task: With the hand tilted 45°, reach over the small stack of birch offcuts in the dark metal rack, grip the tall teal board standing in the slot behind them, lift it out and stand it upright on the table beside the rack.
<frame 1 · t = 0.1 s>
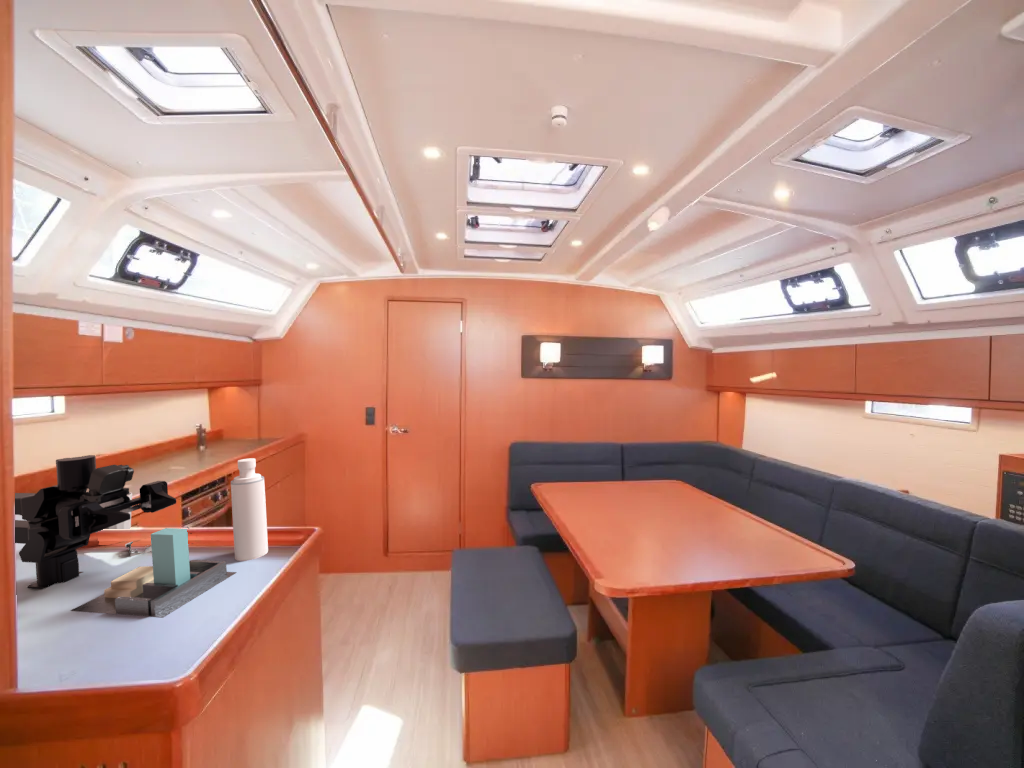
hand: (153, 508, 83), 17 cm above the counter, tool horizontal, fingers open, 9 cm apart
white bottle: (252, 558, 97), on the counter
upper offcut: (138, 580, 83), point 2 cm above the counter, touching lower offcut
lower offcut: (136, 588, 82), point 1 cm above the counter, touching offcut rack, upper offcut
teal board: (172, 590, 81), point 1 cm above the counter, touching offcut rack
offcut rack: (160, 593, 82), on the counter
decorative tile: (161, 548, 105), on the counter
cup: (114, 541, 109), on the counter
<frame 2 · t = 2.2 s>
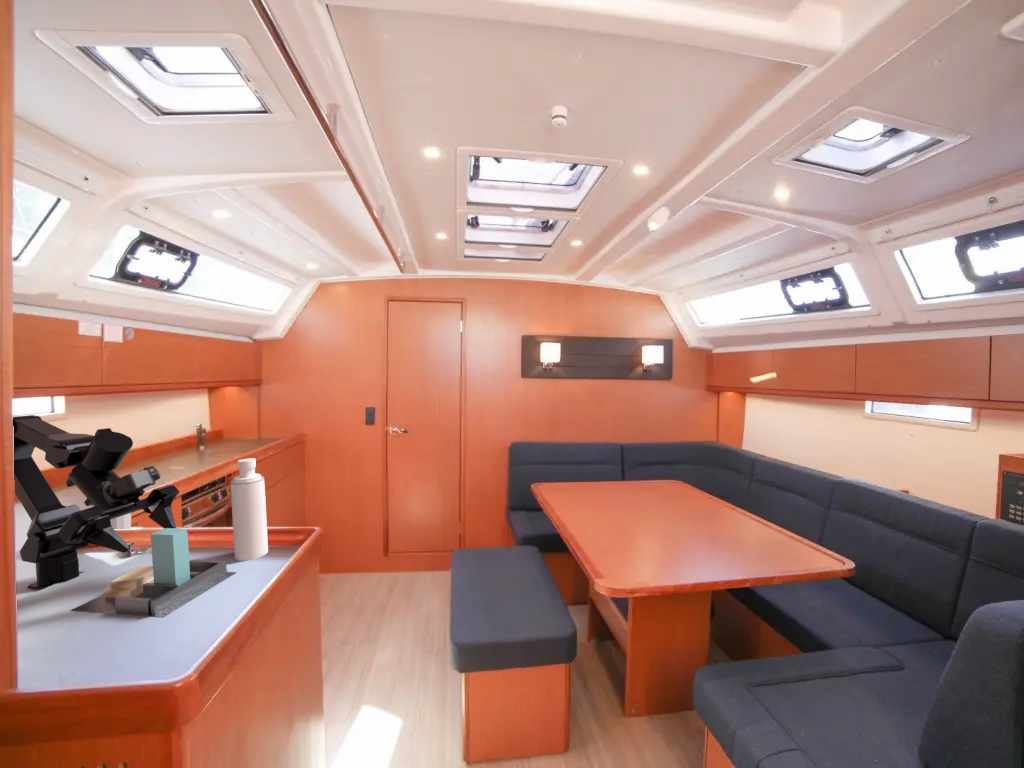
hand: (152, 540, 81), 11 cm above the counter, tool tilted 45°, fingers open, 9 cm apart
nothing on the counter moved.
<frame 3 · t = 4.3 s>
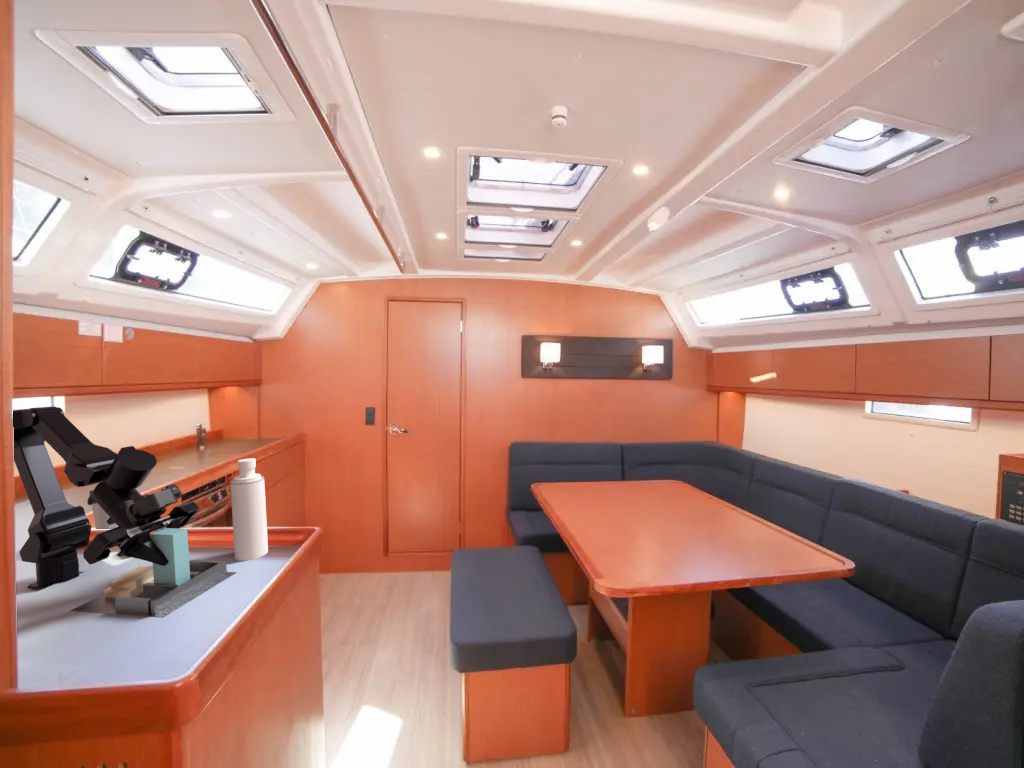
hand: (174, 560, 81), 7 cm above the counter, tool tilted 45°, fingers closed on teal board, 3 cm apart
teal board: (172, 590, 81), point 1 cm above the counter, touching gripper, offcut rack
everything else where it was.
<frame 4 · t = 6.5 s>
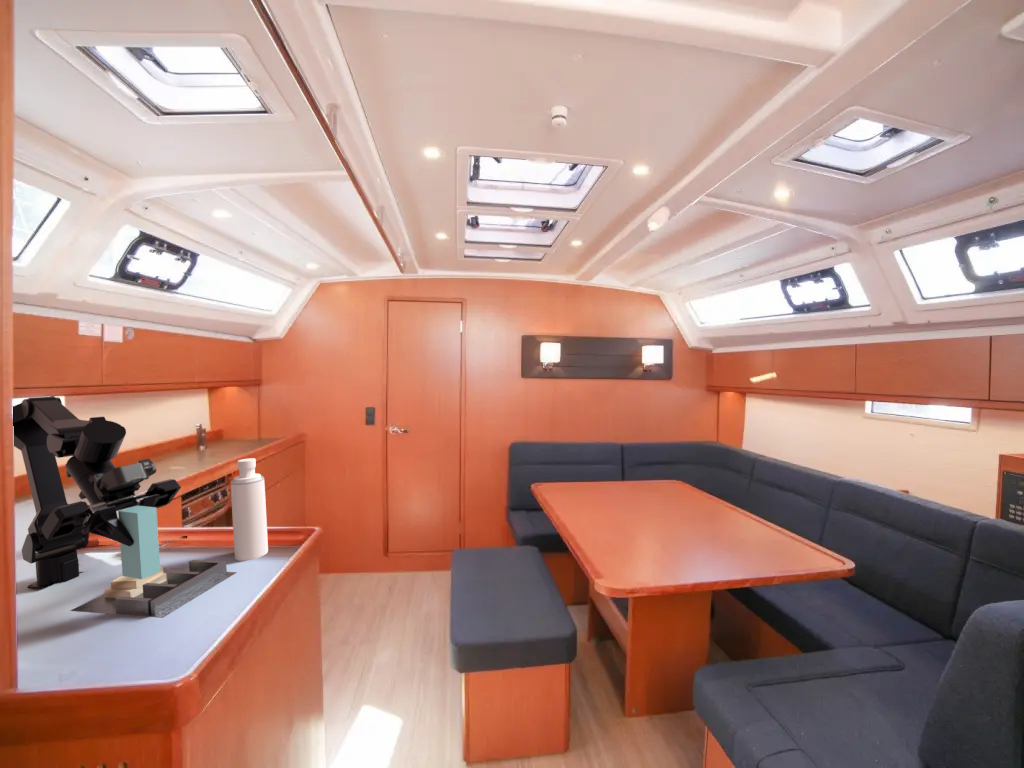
hand: (142, 540, 74), 14 cm above the counter, tool tilted 45°, fingers closed on teal board, 3 cm apart
teal board: (141, 573, 75), point 7 cm above the counter, touching gripper
everything else where it was.
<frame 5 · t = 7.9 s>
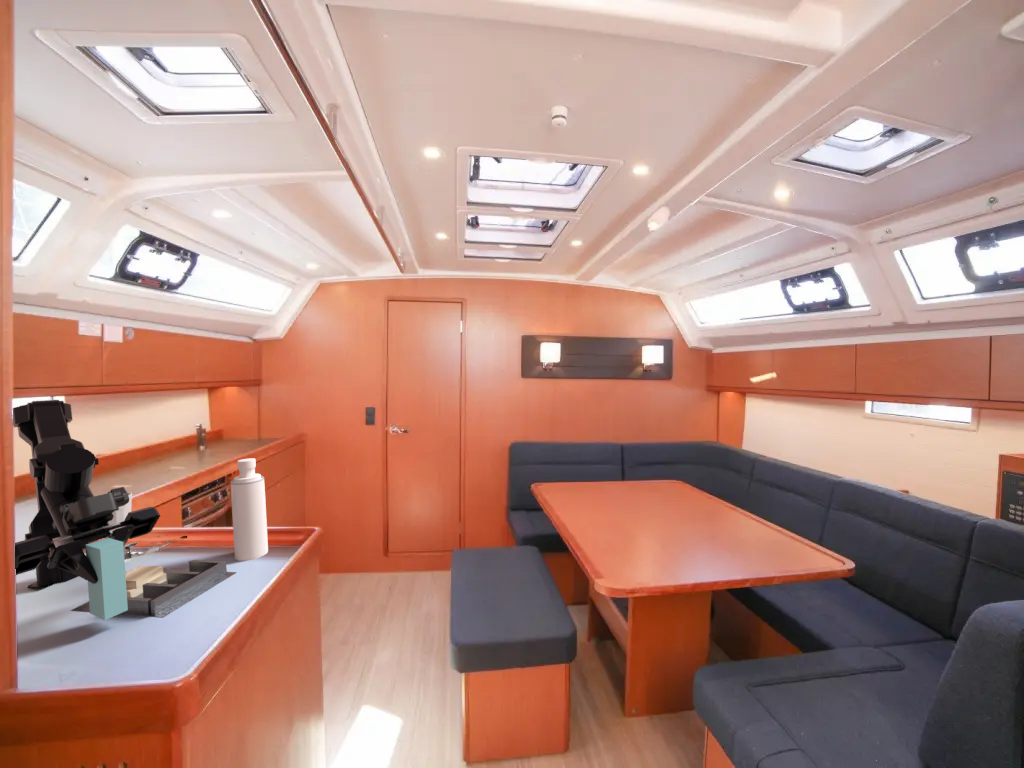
hand: (109, 577, 70), 9 cm above the counter, tool tilted 45°, fingers closed on teal board, 3 cm apart
teal board: (109, 611, 70), point 3 cm above the counter, touching gripper
when the fingers open (7 cm above the counter, at t = 9.0 s): teal board drops 1 cm, on the counter.
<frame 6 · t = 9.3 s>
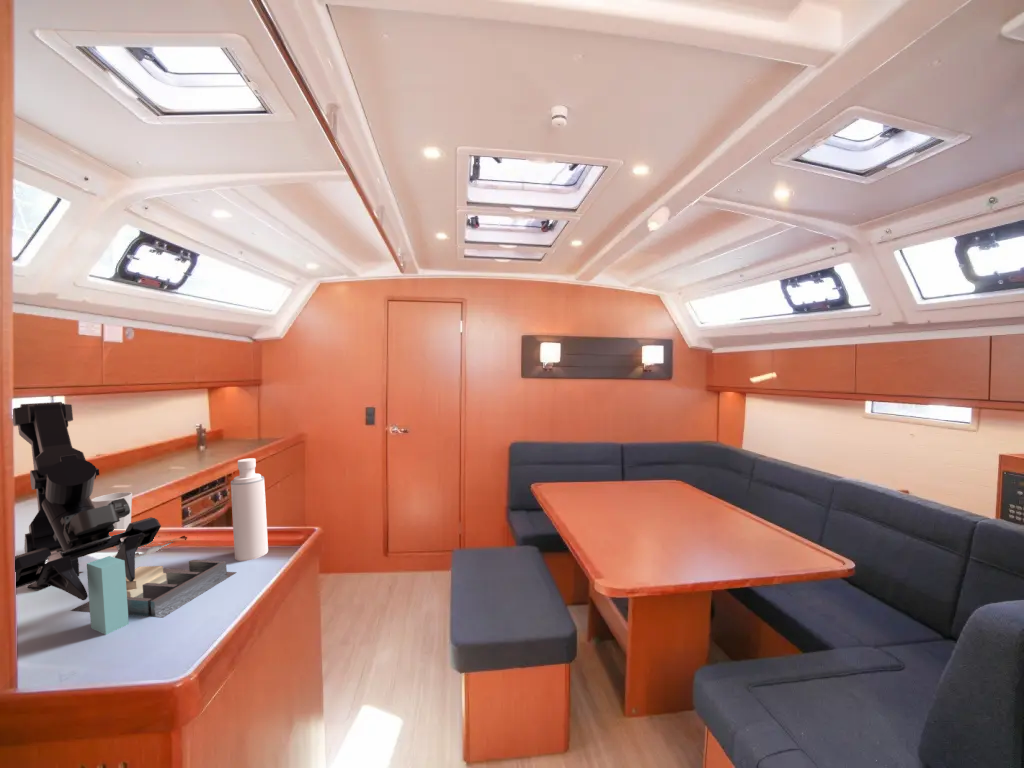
hand: (110, 589, 70), 7 cm above the counter, tool tilted 45°, fingers open, 6 cm apart
teal board: (110, 630, 70), on the counter
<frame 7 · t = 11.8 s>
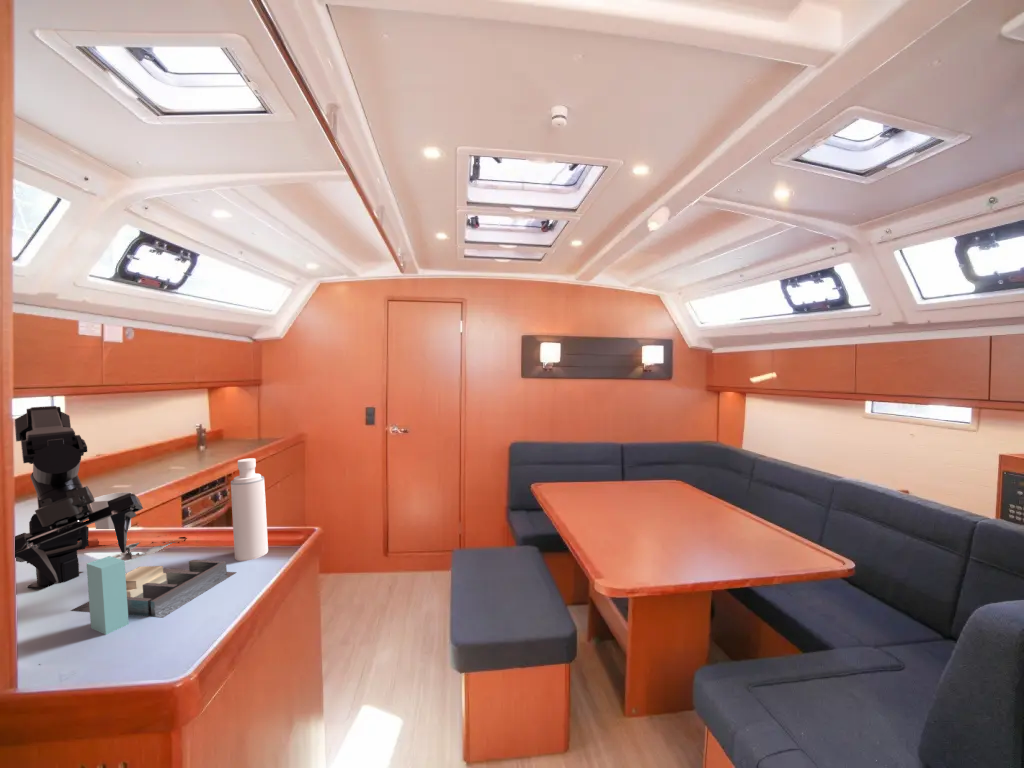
hand: (91, 567, 75), 9 cm above the counter, tool tilted 30°, fingers open, 9 cm apart
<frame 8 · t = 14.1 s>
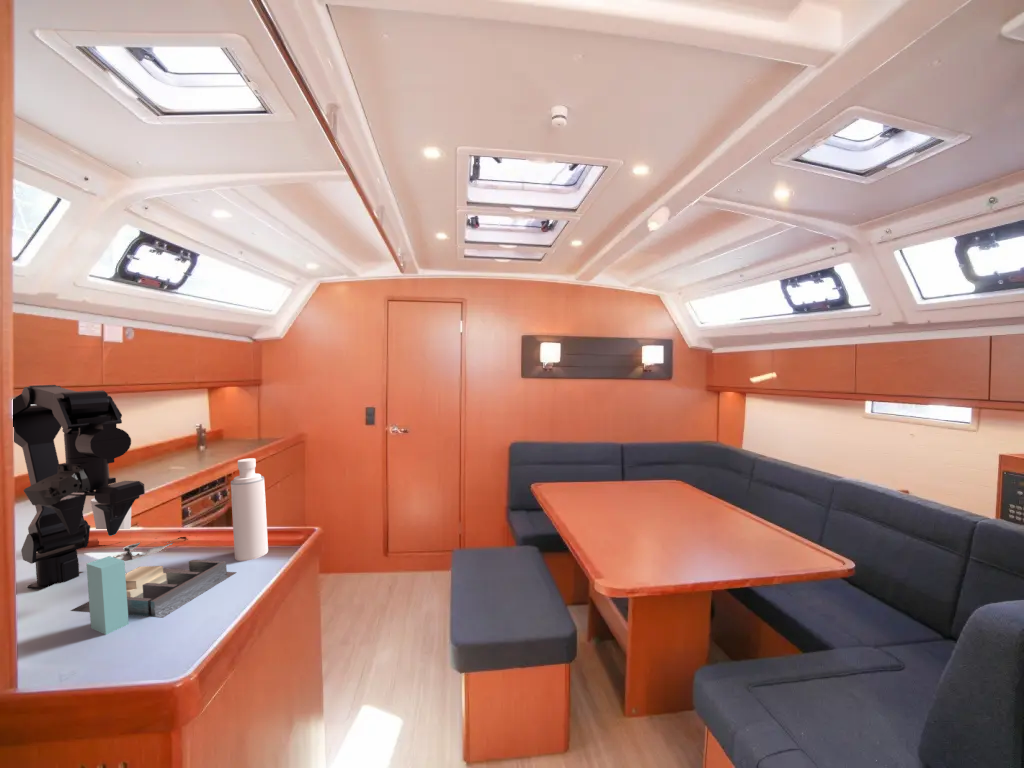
hand: (92, 534, 80), 13 cm above the counter, tool pointing down, fingers open, 9 cm apart
at the end: teal board inside the target area (0.2 cm from its centre), on the counter; teal board tilted 0°; upper offcut moved 0.0 cm from its start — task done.
